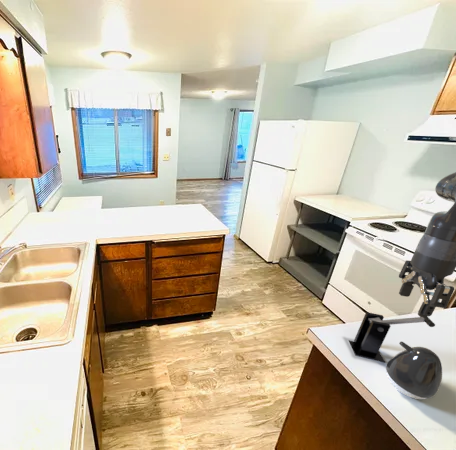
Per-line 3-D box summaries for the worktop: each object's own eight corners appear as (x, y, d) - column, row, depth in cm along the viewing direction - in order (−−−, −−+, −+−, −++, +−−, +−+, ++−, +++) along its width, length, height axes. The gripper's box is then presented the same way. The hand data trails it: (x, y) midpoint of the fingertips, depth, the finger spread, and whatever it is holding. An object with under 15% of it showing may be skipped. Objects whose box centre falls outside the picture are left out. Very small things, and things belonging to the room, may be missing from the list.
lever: (424, 316, 74) (423, 310, 73) (435, 328, 69) (434, 321, 69) (367, 321, 79) (366, 315, 79) (375, 332, 75) (373, 326, 75)
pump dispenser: (381, 362, 76) (402, 328, 69) (428, 386, 69) (457, 351, 63) (377, 385, 69) (400, 351, 63) (429, 414, 63) (460, 379, 56)
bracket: (372, 344, 83) (386, 313, 78) (384, 364, 76) (401, 331, 71) (345, 338, 85) (357, 307, 80) (354, 357, 78) (368, 324, 73)
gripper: (482, 269, 53) (450, 326, 59) (435, 243, 66) (413, 292, 72) (439, 264, 55) (412, 319, 61) (402, 239, 68) (382, 287, 74)
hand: (413, 304), depth 66 cm, fingers open, 8 cm apart
